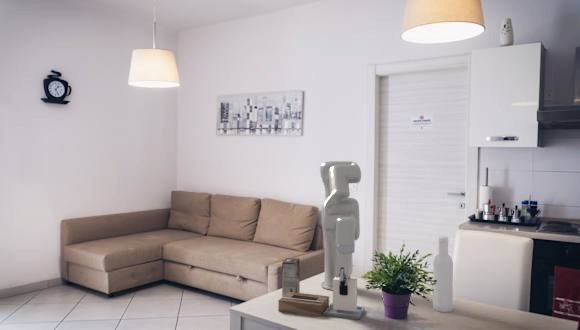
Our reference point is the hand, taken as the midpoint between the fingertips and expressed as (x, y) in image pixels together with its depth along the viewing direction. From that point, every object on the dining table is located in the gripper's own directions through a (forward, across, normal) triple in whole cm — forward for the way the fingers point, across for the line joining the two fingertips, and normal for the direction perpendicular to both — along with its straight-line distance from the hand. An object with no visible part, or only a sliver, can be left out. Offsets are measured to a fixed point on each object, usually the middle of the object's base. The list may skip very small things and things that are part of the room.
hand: (344, 292), depth 193 cm
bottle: (+9, -18, +37) cm, 42 cm away
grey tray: (+8, 0, 0) cm, 8 cm away
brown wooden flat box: (+8, +1, -17) cm, 19 cm away
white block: (+7, 0, 0) cm, 7 cm away
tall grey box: (+9, -14, -28) cm, 32 cm away
